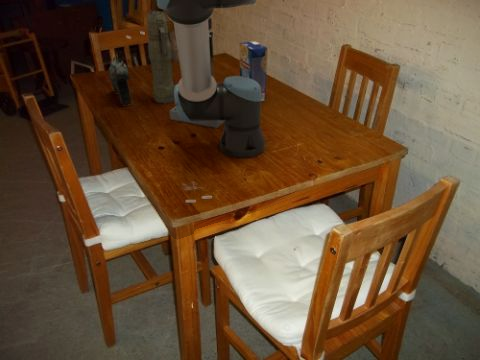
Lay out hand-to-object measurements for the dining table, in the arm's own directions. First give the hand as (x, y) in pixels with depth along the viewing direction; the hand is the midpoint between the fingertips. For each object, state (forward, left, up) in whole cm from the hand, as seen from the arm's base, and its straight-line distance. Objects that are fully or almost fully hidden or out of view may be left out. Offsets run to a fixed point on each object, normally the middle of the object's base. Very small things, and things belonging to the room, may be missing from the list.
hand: (203, 81), depth 157 cm
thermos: (+6, +22, -13) cm, 26 cm away
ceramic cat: (-1, +39, -13) cm, 41 cm away
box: (0, 0, -13) cm, 13 cm away
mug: (+1, 0, -2) cm, 2 cm away
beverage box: (+23, -11, -13) cm, 29 cm away
